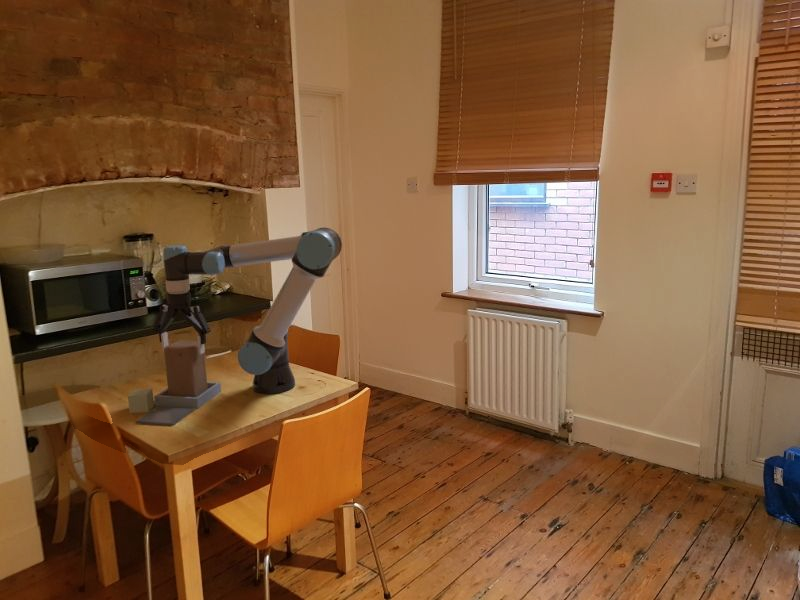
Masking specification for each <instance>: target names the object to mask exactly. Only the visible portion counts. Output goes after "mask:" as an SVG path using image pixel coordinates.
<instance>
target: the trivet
mask: <svg viewBox="0 0 800 600" xmlns="http://www.w3.org/2000/svg"><path fill="white" fill-rule="evenodd" d="M195 409H196V408H188V407H171V406H156V407H155V408H154V409H152V410H149V412H146V414H143V416H141V417H140V418H138V419H136V420H135V424H138V425H139V424H141V425H142V424H144V425H152V426H153V425H154V426H155V425H156V426H170V427H173V426H176V424H178V423H179V422H181V421H182V420H183V419H184V418H186V417H188V416H189V415H190V414H192V413H193V412H194V411H196V410H195Z"/></svg>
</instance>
